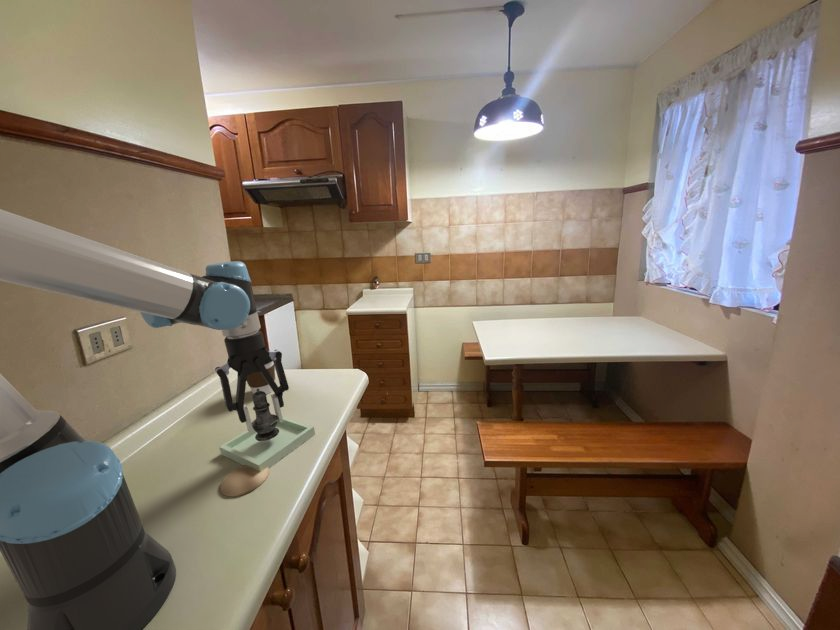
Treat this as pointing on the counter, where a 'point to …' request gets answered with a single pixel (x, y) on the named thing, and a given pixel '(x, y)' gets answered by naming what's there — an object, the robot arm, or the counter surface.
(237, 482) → the cork coaster
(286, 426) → the tray
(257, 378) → the coffee cup
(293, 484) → the counter surface
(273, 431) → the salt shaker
